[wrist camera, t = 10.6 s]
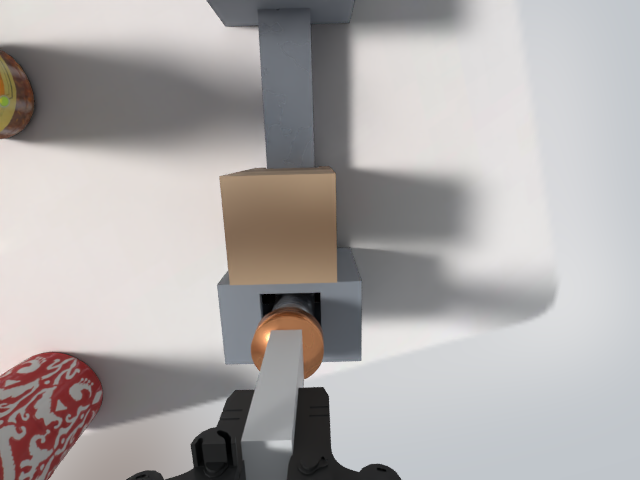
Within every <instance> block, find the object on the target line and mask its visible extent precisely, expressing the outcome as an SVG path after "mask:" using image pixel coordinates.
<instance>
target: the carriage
mask: <svg viewBox="0 0 640 480" xmlns="http://www.w3.org/2000/svg"><path fill="white" fill-rule="evenodd" d="M219 177H220V187H221V198H222V208H223V219H224V229H225V240H226V250H227V260H228V271H229V281H230V285H262V284H301V283H337V233H336V173H335V172H334V171H333V170H332V169H331V168H330V166H319V167H317V168H278V169H266V168H254V169H249V170H245V171H241V172H236V173H232V174H228V175H223V176H219Z"/></svg>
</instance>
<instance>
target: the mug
mask: <svg viewBox="0 0 640 480" xmlns="http://www.w3.org/2000/svg"><path fill="white" fill-rule="evenodd" d="M102 399H103V390H102V386H101V383H100V381H99V379H98V377H97V376H96V374H95V373H94V372H93V370H92V369H91V368H90V367H89V366H88V365H86V364H85V363H84V362H82V361H80V360H79V359H77V358H75V357H73V356H70V355H67V354H62V353H54V352H50V353H42V354H38V355H35V356H32V357H30V358H28V359H26V360H24V361H23V362H21V363H20V364H18V365H16V366H15V367H13V368H12V369H10V370H9V371H7V372H5V373H4V374H2V375H1V376H0V480H48V479H49V478H50V477H51V475H52V474H53V472H54V471H55V469H56V468H57V467H58V465H59V464H60V462H61V461H62V460H63V459H64V457H65V456H66V455H67V453H68V452H69V450H70V449H71V448H72V446H73V445H74V444H75V442H76V441H77V440H78V438H79V437H80V436H81V434H82V433H83V432H84V430H85V429H86V428H87V426H88V425H89V424H90V422H91V421H92V420H93V418H94V417H95V415H96V414H97V412H98V411H99V409H100V407H101V404H102Z"/></svg>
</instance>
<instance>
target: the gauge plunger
mask: <svg viewBox="0 0 640 480" xmlns="http://www.w3.org/2000/svg"><path fill="white" fill-rule="evenodd" d="M314 312H315V293H277V294H276V298H275V301H274V305H273V308H272V311H271V312H269V313H268V314H266V315H265V316H264V317H263V318H262V319H261V321H260V322H259V324H258V326H257V328H256V331H255V334H254V337H253V340H252V343H251V357H252V360H253V362H254V364H255V366H256V367H257V369H258V370H259V371H260V369H261V365H262V362H263V358H264V354H265V350H266V347H267V343H268V339H269V336H270V332H271V330H302V343H303V367H304V379H306V378H308V377H309V376H311V375H312V374H313V373H314V372H315V371H316V370H317V369H318V368H319V366H320V364H321V362H322V359H323V355H324V340H323V331H322V328H321V326H320V324H319V322H318V321H317V320H316V318H314Z"/></svg>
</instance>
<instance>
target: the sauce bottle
mask: <svg viewBox="0 0 640 480" xmlns="http://www.w3.org/2000/svg"><path fill="white" fill-rule="evenodd" d="M34 102H35V101H34V96H33V90H32V87H31V85H30V83H29V80H28V78H27V76H26V74H25V72H24V71H23V70H22V67H21V66H20V65H19V64H18V63H16V61H15V60H14V59H13V57H12V56H10V55H8V54H7V53H5V52H4V51H2V50H0V139H4V138H9V137H11V136H14V135H16V134H18V133H19V132H20V131H22V130H23V129H24V128H25V126H26V125H27V124H28V123H29V121H30V118H31V117H32V115H33V112H34Z"/></svg>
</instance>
